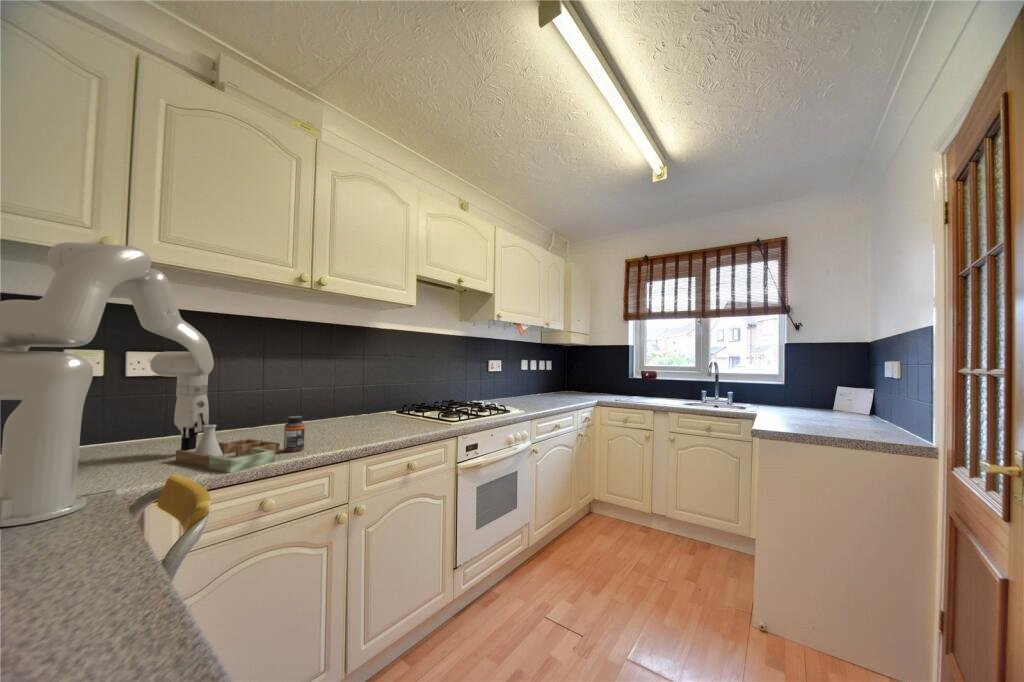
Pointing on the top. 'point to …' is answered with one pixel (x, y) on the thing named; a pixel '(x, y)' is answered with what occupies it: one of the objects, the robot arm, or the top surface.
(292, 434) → the supplement bottle
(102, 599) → the top surface
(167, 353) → the robot arm
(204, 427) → the flask
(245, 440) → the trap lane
